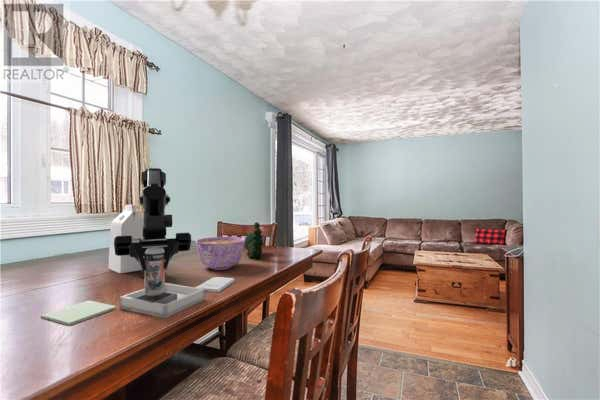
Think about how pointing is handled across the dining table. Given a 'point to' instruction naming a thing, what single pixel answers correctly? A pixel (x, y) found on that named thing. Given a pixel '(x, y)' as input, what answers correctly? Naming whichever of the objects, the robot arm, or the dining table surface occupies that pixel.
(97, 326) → the dining table surface
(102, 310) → the sage mat
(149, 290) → the beer can
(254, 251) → the toy figurine
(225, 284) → the external hard drive
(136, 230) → the milk
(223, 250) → the bowl of food
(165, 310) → the shallow light grey tray
